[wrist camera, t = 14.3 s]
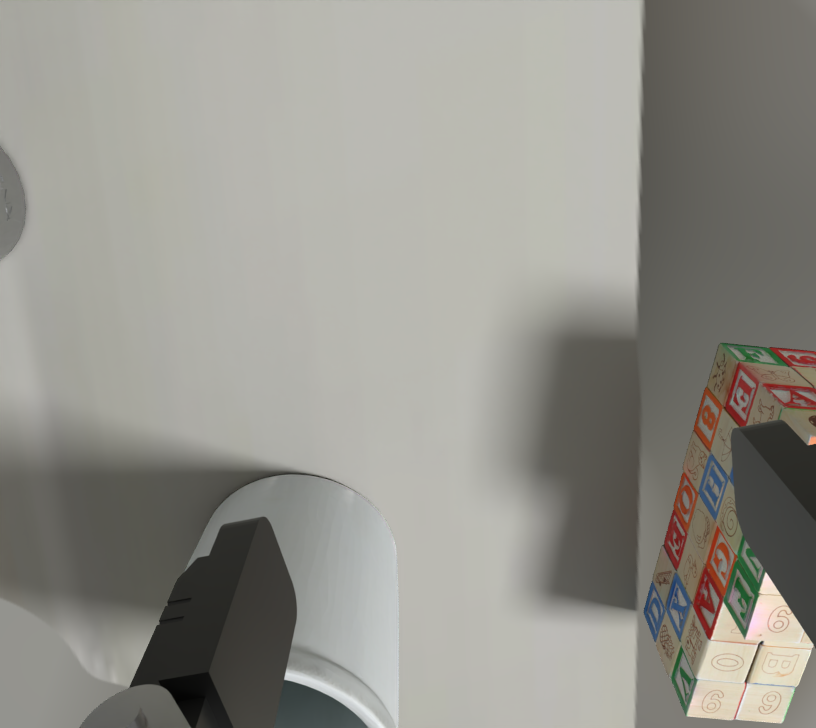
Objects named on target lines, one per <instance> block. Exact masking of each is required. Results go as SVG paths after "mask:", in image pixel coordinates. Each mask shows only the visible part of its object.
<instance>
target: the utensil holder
mask: <svg viewBox="0 0 816 728" xmlns="http://www.w3.org/2000/svg"><path fill="white" fill-rule="evenodd" d="M258 517H266V518H267V519H268V520H269V522H270V523H271V526H272V528H273V531H274V533H275V536H276V539H277V542H278V544H279V547H280V550H281V553H282V555H283V558H284V561H285V564H286V566H287V569H288V572H289V574H290V577H291V580H292V583H293V586H294V590H295V595H296V602H297V620H296V625H295V630H294V635H293V640H292V645H291V649H290V654H289V659H288V664H287V668H286V673H285V678H284V683H283V687H282V692H281V697H280V702H279V706H278V711H277V716H276V721H275V726H274V728H398V718H399V707H398V706H399V663H398V660H399V601H398V565H397V552H396V545H395V542H394V538H393V535H392V532H391V530H390V528H389V526H388V524H387V522H386V521H385V519H384V518H383V516H382V515H381V513H380V512H379V511H378V510H377V509H376V508H375V507H374V506H373V505H372V504H371V503H370V502H369V501H368V500H367V499H366V498H364V497H363V496H361V495H360V494H358V493H357V492H355V491H353V490H351V489H350V488H348V487H346V486H344V485H341V484H339V483H337V482H334V481H331V480H328V479H324V478H320V477H315V476H309V475H295V474H289V475H278V476H273V477H268V478H264V479H260V480H257V481H255V482H252V483H250V484H248V485H246V486H244V487H242V488H240V489H239V490H237V491H236V492H234V493H233V494H231V495H230V496H229V497H228V498H227V499H226V500H225V501H224V502H223V503H222V504H221V505H220V506H219V507H218V508H217V509H216V511H215V512H214V514H213V516H212V517H211V519H210V520H209V522H208V524H207V526H206V528H205V530H204V532H203V534H202V536H201V538H200V540H199V542H198V544H197V546H196V548H195V550H194V552H193V554H192V557H191V559H190V561H189V563H188V565H187V567H186V569H185V571H186V570H187V569H188V567H189V566H190V565H191V564H192V563H193V562H194V561H195V560H196V559H197V558H198V557H204V556H209V554H210V552H211V549H212V547H213V544H214V542H215V539H216V537H217V534H218V532H219V529H220V528H221V526H222V525H223V524H226V523H231V522H237V521H242V520H247V519H252V518H258ZM185 571H184V572H185Z"/></svg>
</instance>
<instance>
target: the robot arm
mask: <svg viewBox="0 0 816 728" xmlns="http://www.w3.org/2000/svg"><path fill="white" fill-rule="evenodd" d="M25 213H26V205H25V196H24V190H23V187H22V184H21V181H20V178H19V175H18V173H17V171H16V169H15V167H14V165H13V164H12V162H11V160H10V158H9V157H8V156H7V154H6V153H5V152H4V150H3V149H2V148H1V147H0V260H1V259H2V258H4V257H5V256H6V255H7V254H8V253H9V252H11V250H12V249H13V247H14V246H15V245H16V243H17V242H18V240H19V238H20V235H21V233H22V230H23V227H24V223H25ZM731 451H732V466H733V480H734V494H735V507H736V513H737V518H738V522H739V525H740V528H741V531H742V534H743V536H744V538H745V540H746V542H747V544H748V545H749V547H750V549H751V550H752V552H753V553H754V555H755V556H756V558H757V559H758V561H759V562H760V564H761V565H762V567H763V568H764V570H765V571H766V573H767V574H768V576H769V578H770V579H771V581H772V582H773V584H774V585H775V587H776V588H777V590H778V591H779V593H780V594H781V596H782V597H783V599H784V600H785V602H786V604H787V605H788V607H789V608H790V610H791V611H792V613H793V614H794V616H795V617H796V619H797V620H798V622H799V623H800V625H801V626H802V628H803V630H804V631H805V633H806V634H807V636H808V637H809V639H810V640H811V642H812V643H813V645H814V646H815V648H816V444H812V445H807V444H806V443H805V442H804V441H803V440H802V439H801V438H800V437H799V436H798V435H797V434H796V433H795V432H794V430H793V429H792V428H791V427H790V426H789V425H788V424H787V423H786V422H785V421H783V420H780V419H779V420H774V421H768V422H763V423H758V424H753V425H747V426H742V427H737V428H734V429H733V430H732V433H731ZM296 620H297V602H296V595H295V590H294V586H293V583H292V580H291V577H290V574H289V572H288V569H287V566H286V564H285V561H284V558H283V555H282V553H281V550H280V547H279V544H278V542H277V539H276V536H275V533H274V531H273V528H272V526H271V523H270V522H269V520H268V519H267V518H266V517H258V518H252V519H247V520H242V521H237V522H231V523H226V524H223V525H222V526H221V528H220V529H219V532H218V534H217V537H216V539H215V542H214V544H213V547H212V549H211V552H210V554H209V556H204V557H198V558H197V559H196V560H195V561H194V562H193V563H192V564H191V565H190V566H189V567H188V569H187V570H186V571H185V572H184V573H183V574H182V575H181V576H180V577H179V578H178V580H177V582H176V584H175V586H174V588H173V591H172V593H171V595H170V597H169V600H168V606H165V609H164V611H163V613H162V615H161V618H160V620H159V622H160V625H157V627H156V629H155V631H154V633H153V635H152V638H151V640H150V642H149V644H148V647H147V649H146V651H145V653H144V656H143V658H142V660H141V662H140V665H139V667H138V669H137V671H136V674H135V676H134V678H133V680H132V682H131V685H130V687H129V688H128V689H126V690H123V691H121V692H119V693H117V694H115V695H114V696H112V697H110V698H109V699H107V700H106V701H104V702H103V703H102V704H100V705H99V706H98V707H97V708H96V709H94V710H93V712H92V713H91V714H90V715H89V716H88V717H87V718H86V719H85V720H84V722H83V723H82V724H81V726H80V728H274V726H275V721H276V716H277V711H278V706H279V702H280V697H281V692H282V687H283V683H284V678H285V673H286V668H287V664H288V659H289V654H290V649H291V645H292V640H293V635H294V630H295V625H296Z"/></svg>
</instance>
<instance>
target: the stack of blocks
mask: <svg viewBox="0 0 816 728" xmlns="http://www.w3.org/2000/svg"><path fill="white" fill-rule="evenodd" d="M779 419H780V420H783V421H785V422H786V423H787V424H788V425H789V426H790V427H791V428H792V429H793V430H794V432H795V433H796V434H797V435H798V436H799V437H800V438H801V439H802V440H803V441H804V442H805V443H806V444H807V445H812V444H816V352H814V351H807V350H798V349H797V350H796V349H787V348H775V347H770V348H765V347H758V346H748V345H738V344H728V343H720V344H719V345H718V349H717V353H716V356H715V359H714V363H713V366H712V370H711V373H710V377H709V380H708V385H707V387H706V388H705V390H704V393H703V397H702V400H701V404H700V407H699V411H698V414H697V418H696V422H695V425H694V430H693V432H692V436H691V439H690V442H689V446H688V449H687V453H686V457H685V460H684V464H683V470H684V471H683V474H682V476H681V481H680V486H679V488H678V492H677V495H676V499H675V502H674V510H673V513H672V516H671V520H670V523H669V526H668V531H667V534H666V537H665V542H664V545H662V547H661V550H660V553H659V557H658V561H657V564H656V568H655V571H654V575H653V581H652V583H651V586H650V590H649V593H648V598H647V601H646V605H645V608H644V615H645V618H646V620H647V623H648V625H649V628H650V630H651V633H652V635H653V638H654V641H655V642H656V647H657V650H658V652H659V655H660V657H661V660H662V662H663V665H664V667H665V670H666V673H667V675H668V677H670V678H671V679H672V683H673V685H674V688H675V690H676V693H677V695H678V698H679V700H680V703H681V706H682V708H683V710H684V712H685V715H686V716H691V717H703V718H714V719H724V720H733V719H738V720H748V721H760V722H772V723H782V722H783V721H784V719H785V715H786V713H787V710H788V708H789V705H790V702H791V700H792V697H793V694H794V692H795V687H796V686H798V684H799V682H800V679H801V676H802V674H803V671H804V669H805V666H806V663H807V661H808V658H809V656H810V654H811V648H812V647H813V646H814V645H813V643H812V642H811V640H810V639H809V637H808V636H807V634H806V633H805V631H804V630H803V628H802V626H801V625H800V623H799V622H798V620H797V619H796V617H795V616H794V614H793V613H792V611H791V610H790V608H789V607H788V605H787V604H786V602H785V600H784V599H783V597H782V596H781V594H780V593H779V591H778V590H777V588H776V587H775V585H774V584H773V582H772V581H771V579H770V578H769V576H768V574H767V573H766V571H765V570H764V568H763V567H762V565H761V564H760V562H759V561H758V559H757V558H756V556H755V555H754V553H753V552H752V550H751V549H750V547H749V545H748V544H747V542H746V540H745V538H744V536H743V534H742V531H741V528H740V525H739V522H738V518H737V513H736V507H735V494H734V480H733V466H732V451H731V433H732V430H733V429H734V428H737V427H742V426H747V425H753V424H758V423H763V422H768V421H774V420H779Z"/></svg>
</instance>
